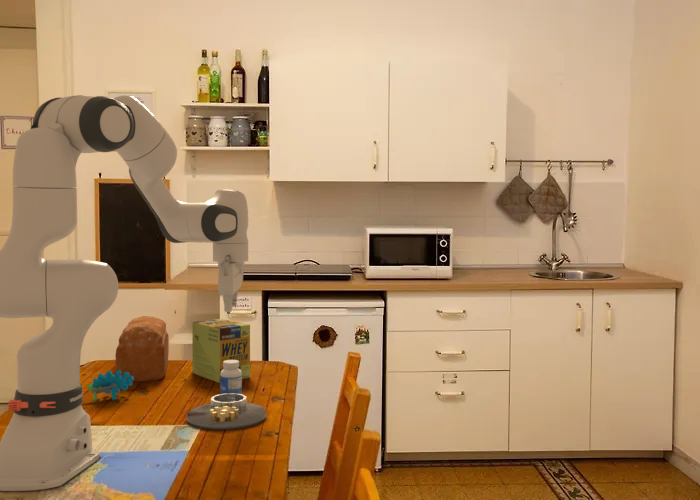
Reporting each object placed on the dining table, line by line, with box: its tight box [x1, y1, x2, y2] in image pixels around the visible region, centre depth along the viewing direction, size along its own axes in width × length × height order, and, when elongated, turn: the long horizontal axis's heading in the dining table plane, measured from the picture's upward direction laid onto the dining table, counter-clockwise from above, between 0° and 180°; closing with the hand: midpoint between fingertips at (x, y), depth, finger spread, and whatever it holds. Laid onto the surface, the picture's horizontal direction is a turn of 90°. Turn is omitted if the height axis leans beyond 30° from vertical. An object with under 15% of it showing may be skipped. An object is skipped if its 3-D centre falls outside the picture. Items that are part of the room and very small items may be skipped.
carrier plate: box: [186, 393, 267, 431], centre depth 159 cm, size 18×18×4 cm
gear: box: [87, 370, 134, 402], centre depth 173 cm, size 11×6×10 cm
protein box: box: [191, 318, 251, 384], centre depth 199 cm, size 10×15×16 cm
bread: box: [115, 315, 170, 382], centre depth 204 cm, size 14×26×16 cm, turn 12°
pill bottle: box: [219, 360, 243, 394], centre depth 174 cm, size 6×5×10 cm
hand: (230, 308), depth 173 cm, fingers open, 8 cm apart
